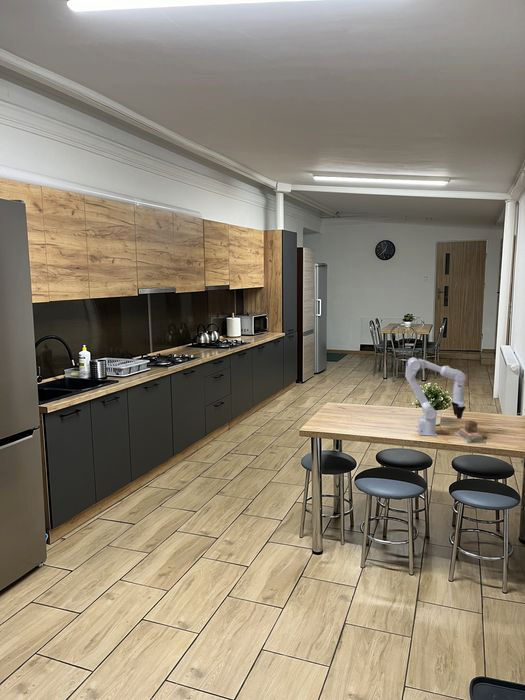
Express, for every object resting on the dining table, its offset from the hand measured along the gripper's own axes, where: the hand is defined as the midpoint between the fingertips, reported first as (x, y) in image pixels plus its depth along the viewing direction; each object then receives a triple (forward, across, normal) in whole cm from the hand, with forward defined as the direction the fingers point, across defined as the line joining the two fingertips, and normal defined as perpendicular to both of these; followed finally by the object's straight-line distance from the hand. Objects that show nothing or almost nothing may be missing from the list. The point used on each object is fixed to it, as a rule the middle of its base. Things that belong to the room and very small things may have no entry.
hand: (457, 416), depth 302 cm
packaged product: (+11, -6, -6) cm, 14 cm away
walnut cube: (+6, -6, -6) cm, 11 cm away
